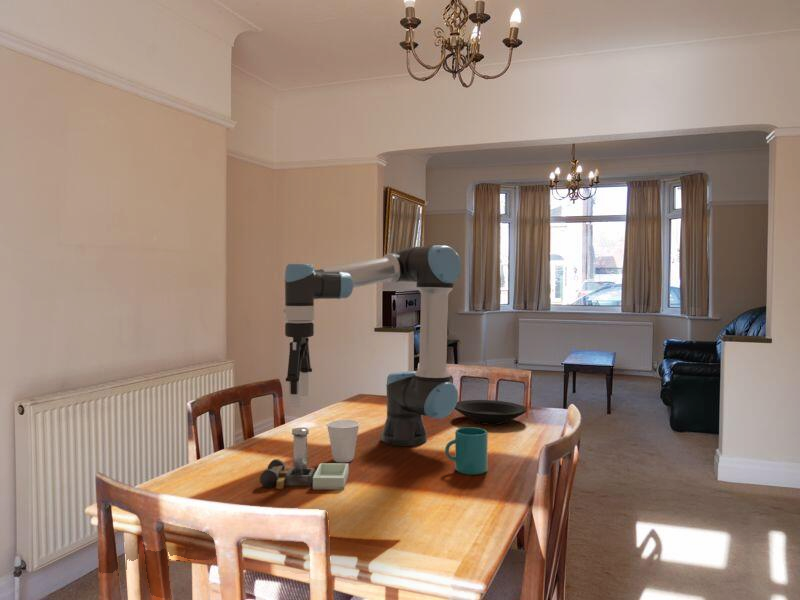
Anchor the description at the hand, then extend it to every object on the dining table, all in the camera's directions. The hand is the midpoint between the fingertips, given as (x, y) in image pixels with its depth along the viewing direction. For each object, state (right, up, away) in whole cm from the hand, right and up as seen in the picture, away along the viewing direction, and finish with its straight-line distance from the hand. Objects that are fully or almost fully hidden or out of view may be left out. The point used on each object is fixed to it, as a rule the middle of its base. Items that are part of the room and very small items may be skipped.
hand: (299, 401), depth 160 cm
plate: (+61, -19, +68) cm, 93 cm away
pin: (0, -22, +1) cm, 22 cm away
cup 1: (+10, -21, +20) cm, 31 cm away
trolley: (-3, -22, +1) cm, 22 cm away
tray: (+8, -22, +1) cm, 23 cm away
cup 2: (+46, -22, +10) cm, 51 cm away
